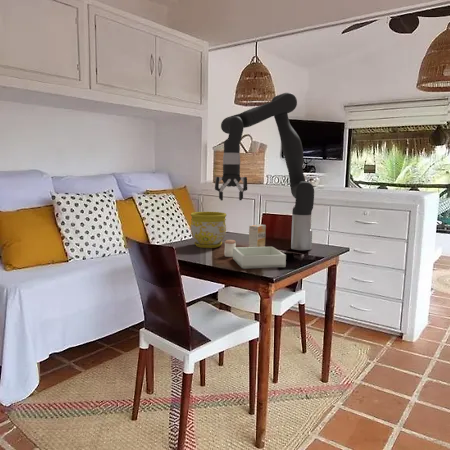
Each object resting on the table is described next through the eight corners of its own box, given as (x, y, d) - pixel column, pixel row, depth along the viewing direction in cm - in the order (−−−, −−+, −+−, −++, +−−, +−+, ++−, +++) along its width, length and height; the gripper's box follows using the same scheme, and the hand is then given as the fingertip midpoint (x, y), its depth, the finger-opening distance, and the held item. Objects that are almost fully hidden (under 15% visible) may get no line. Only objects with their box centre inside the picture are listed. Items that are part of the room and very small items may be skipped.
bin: (272, 257, 191) (272, 246, 190) (285, 267, 173) (285, 255, 173) (232, 258, 187) (233, 247, 187) (242, 268, 170) (242, 256, 169)
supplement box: (257, 254, 196) (258, 226, 194) (248, 253, 199) (248, 225, 197) (265, 251, 203) (266, 224, 201) (256, 250, 206) (257, 223, 204)
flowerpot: (229, 248, 210) (230, 215, 207) (193, 249, 206) (193, 216, 203) (221, 241, 227) (221, 211, 225) (187, 243, 223) (187, 211, 220)
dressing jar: (234, 254, 196) (234, 239, 195) (236, 256, 191) (236, 241, 190) (223, 254, 195) (223, 239, 194) (225, 257, 190) (225, 241, 189)
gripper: (245, 163, 192) (244, 199, 195) (214, 163, 190) (213, 199, 192) (249, 163, 185) (248, 201, 187) (217, 163, 182) (216, 201, 185)
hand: (230, 200), depth 190 cm, fingers open, 8 cm apart
